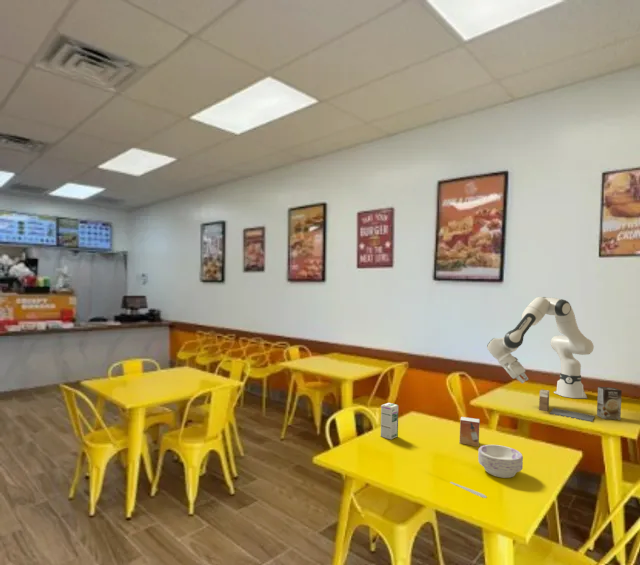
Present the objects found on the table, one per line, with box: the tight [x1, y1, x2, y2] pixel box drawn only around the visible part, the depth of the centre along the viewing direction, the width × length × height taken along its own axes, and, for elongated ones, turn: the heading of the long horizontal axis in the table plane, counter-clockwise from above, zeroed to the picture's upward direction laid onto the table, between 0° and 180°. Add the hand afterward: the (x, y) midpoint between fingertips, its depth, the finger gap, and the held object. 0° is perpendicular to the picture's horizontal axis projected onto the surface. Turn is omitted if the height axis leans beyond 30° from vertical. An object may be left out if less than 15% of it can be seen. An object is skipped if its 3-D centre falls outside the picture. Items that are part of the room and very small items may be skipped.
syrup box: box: [380, 402, 399, 440], centre depth 190 cm, size 6×6×14 cm
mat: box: [549, 407, 596, 423], centre depth 232 cm, size 12×20×1 cm, turn 51°
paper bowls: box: [477, 444, 524, 479], centre depth 156 cm, size 15×15×8 cm
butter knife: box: [449, 481, 488, 499], centre depth 147 cm, size 1×27×3 cm
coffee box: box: [596, 386, 623, 421], centre depth 230 cm, size 9×6×16 cm
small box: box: [459, 416, 481, 447], centre depth 185 cm, size 8×6×10 cm
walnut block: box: [538, 389, 550, 412], centre depth 241 cm, size 5×4×11 cm
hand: (525, 381), depth 248 cm, fingers open, 8 cm apart
